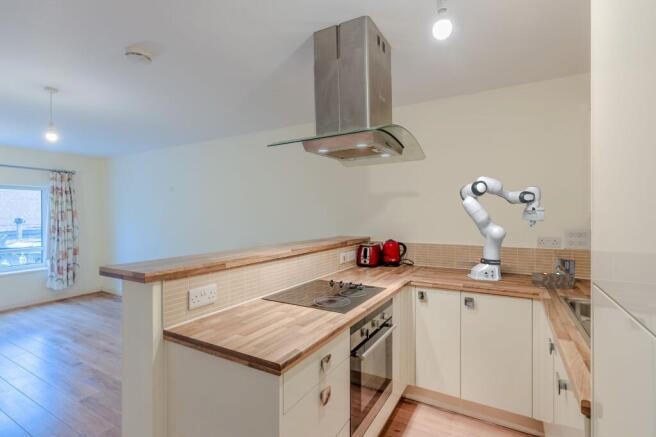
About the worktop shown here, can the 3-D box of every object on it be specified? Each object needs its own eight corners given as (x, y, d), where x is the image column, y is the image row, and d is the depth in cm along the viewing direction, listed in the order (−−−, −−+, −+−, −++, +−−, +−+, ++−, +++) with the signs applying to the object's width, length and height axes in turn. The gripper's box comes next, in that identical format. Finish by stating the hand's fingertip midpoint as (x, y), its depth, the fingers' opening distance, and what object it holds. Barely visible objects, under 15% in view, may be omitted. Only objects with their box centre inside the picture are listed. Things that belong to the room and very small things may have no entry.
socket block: (541, 288, 198) (541, 275, 198) (531, 284, 208) (532, 272, 208) (573, 289, 198) (573, 276, 197) (561, 284, 208) (562, 273, 207)
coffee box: (574, 283, 211) (576, 260, 211) (569, 284, 209) (570, 261, 208) (560, 280, 220) (561, 258, 219) (554, 281, 217) (556, 258, 216)
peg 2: (556, 287, 200) (557, 273, 200) (550, 285, 206) (551, 271, 205) (565, 287, 200) (566, 274, 199) (559, 285, 205) (560, 272, 205)
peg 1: (544, 287, 200) (544, 273, 200) (538, 284, 206) (539, 271, 205) (552, 287, 200) (553, 273, 200) (547, 285, 206) (547, 271, 205)
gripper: (520, 207, 240) (519, 225, 241) (537, 208, 220) (536, 227, 221) (528, 208, 240) (527, 225, 241) (546, 208, 220) (545, 227, 220)
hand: (532, 226), depth 231 cm, fingers closed
